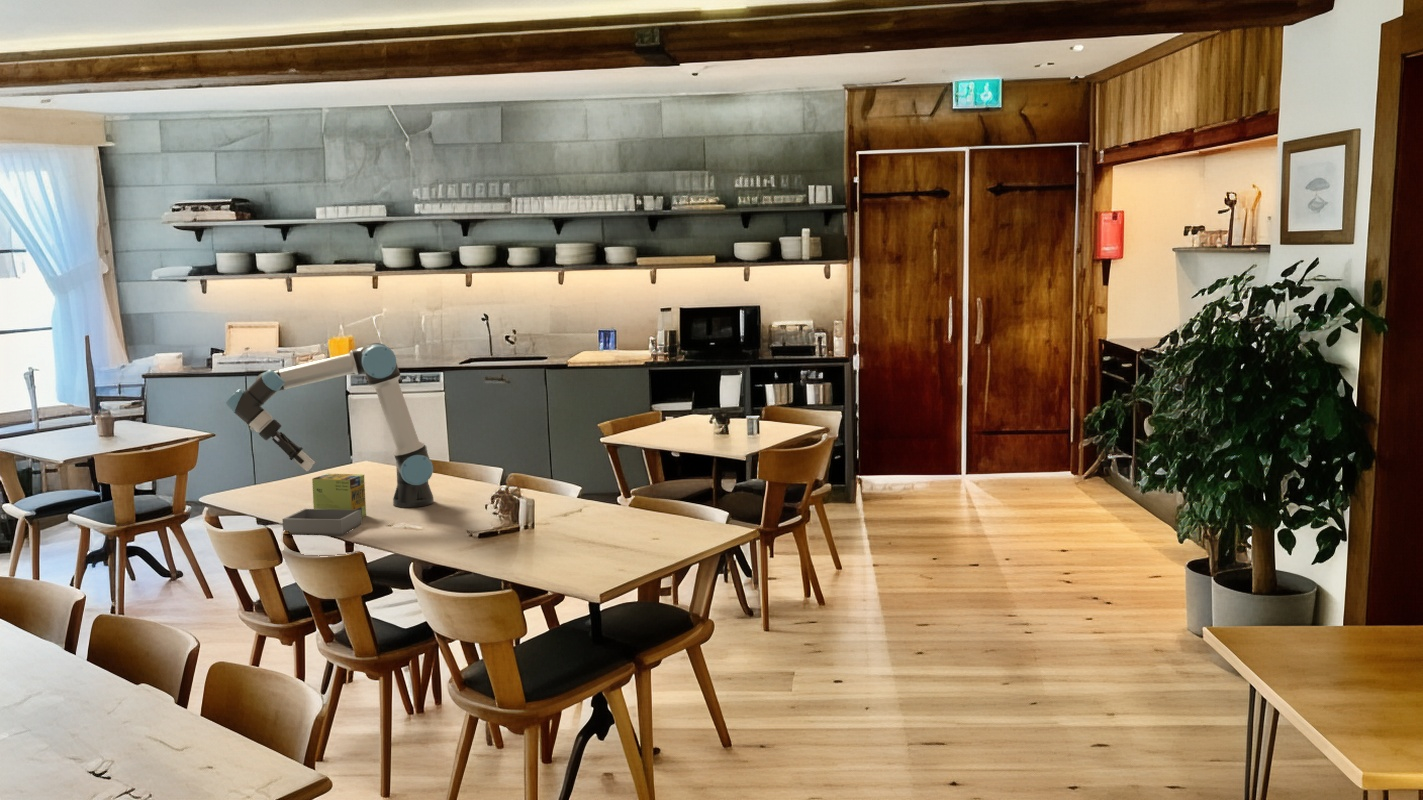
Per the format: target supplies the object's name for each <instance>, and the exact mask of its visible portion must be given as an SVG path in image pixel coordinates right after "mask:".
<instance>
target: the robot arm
mask: <svg viewBox="0 0 1423 800" xmlns="http://www.w3.org/2000/svg"><path fill="white" fill-rule="evenodd" d="M352 374H355V375H357V376H358V375H363V374H364V375H365V376H366V379H367V382H368V385H369V386H370V387H373V388H374V389H375V391H376V395H377V397H378V400H379V403H380V407H381V408H382V412H383V415H384V418H385V421H386V423H387V426H388V429H389V431H390V432H389V433H390V434H391V437H392V441H393V443H394V446H395V451H394V453H393V456H394V458H395V464H396V465H395V466H396V487H395V491H394V495H393V498H392V504H393V506H394V507H397V508H419V507H425V506H426V507H427V506H429V505H432V504H434V502H435V501H434V494H433V492H432V489H431V487H430V484H429V480H430V479H431V477H432V476H433V473H434V465H433V462H432V460H431V459H430V456H429V454H428V447H427V445H426V444H425V443H424V442H422V441H420V440H419V438H418V434H417V431H416V429H415V426H414V423H413V420H412V417H411V415H410V411H409V408H408V406H407V403H406V400H405V397H404V394H403V391H402V387H401V385H400V383H399V380H400V377H401V372H400V370H399V367H398V364H397V357H396V355H395V352H394V351H393V350H392V349H391V348H390V347H389V346H387V345H385V344H383V343H380V342H374V343H369V344H367V345H364V346H362V347H357V348H355V349H354V348H353V349H351V350H350V351H349V352H348V353H346V354H341V355H336V356H333V357H328V358H324V359H320V360H314V361H311V362H306V363H303V364H302V363H301V364H298V365H294V366H290V367H289V366H288V367H285V368H280V369H278V370H273V369H268V370H267V371H264V372H262V373H261V372H260V374H258V376H256V379H255V381H254V382H253V384H251V385H250V386H249V387H248V388H247V389H246V390H243V389H242V388H239V389H237V390H236V391H235V392H234V393H232V395H230V396H229V397H228V398H227V400H226V401H225V404H226V406H227V407H228V408H229V409H230V410H231V411H232V412H233V413H234V414H235V415H236V416H238V417H239V418H240V419H241V420H242V421H243V422H244V423H245V424H246V425H248V427H249V429H250V430H251V431H252V430H253V431H255V433H258V435H259V436H260V437H261V438H262V439H263V440H265V441H268V440H269V439H272V442H273V443H274V444H276V445H277V446H278V447H279V448H281V450H282V451H283V452H285V454H286V455H287V456H288V457H289V458H288V459H289V460H290V461H292V460H294V462H295V463H297V464H298V465H299V466H300V467H301V468H302V469H303V470H305V471H306V472H309V471H310V470H311V469H312V468H313V465H314V464H315V463H316V461H314V460H313V459H312V458H311V457H310V456H309V455H308V454H307V453H305V452H304V451H303V449H304V448H303V447H302V446H301V447H300V446H298V445H297V444H296V443H295V442H293V441H292V440H291V439H290V438H288V436H287V435H286V434H285V433H283V432H281V431H279V430H280V429H281V428H282V424H281V423H279V422H278V420H276V419H273V415H272V414H270V413H269V412H268V411H267V410H265V408H263V407H262V406H264V404H265V403H266V402H268V400H269V399H271V398H272V397H273V396H274V395H275V394H276V393H277V392H280V391H284V390H288V389H292V388H296V387H301V386H304V385H309V384H314V383H318V382H322V381H327V380H331V379H334V378H340V377H343V376H348V375H352Z"/></svg>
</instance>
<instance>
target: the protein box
mask: <svg viewBox="0 0 1423 800" xmlns="http://www.w3.org/2000/svg"><path fill="white" fill-rule="evenodd" d="M311 481H312V483H311V484H312V500H313V502H312V504H313V509H352V510H361V518H363V517H365V516H367V507H366V506H367V505H366V504H367V503H366V489H365V488H366V487H365V486H366V482H365V474H355V473H354V474H353V473H326V474H322V475H320V476H316V477H313V478H312V479H311Z"/></svg>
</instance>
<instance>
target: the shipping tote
mask: <svg viewBox="0 0 1423 800" xmlns="http://www.w3.org/2000/svg"><path fill="white" fill-rule="evenodd" d="M281 521H282V532H283V531H284V530H288V531H289V532H290V533H291V534H292V535H291V536H321V537H323V536H326V537H327V536H331V537H333V536H334V537H343V536H345V535H346V534H348V533H350V532H351V531H350V530H352V529H353V530H355V529H356V527H357V528H359V527H361V526H362V521H363V520H362V517H361V510H352V509H314V508H303V509H300V510H298V511H296V512H294V513H292V514H290V515H287V516H286V517H284V518H282V520H281ZM358 526H359V527H358ZM353 530H352V531H353ZM349 531H350V532H349ZM347 532H348V533H347Z"/></svg>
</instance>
